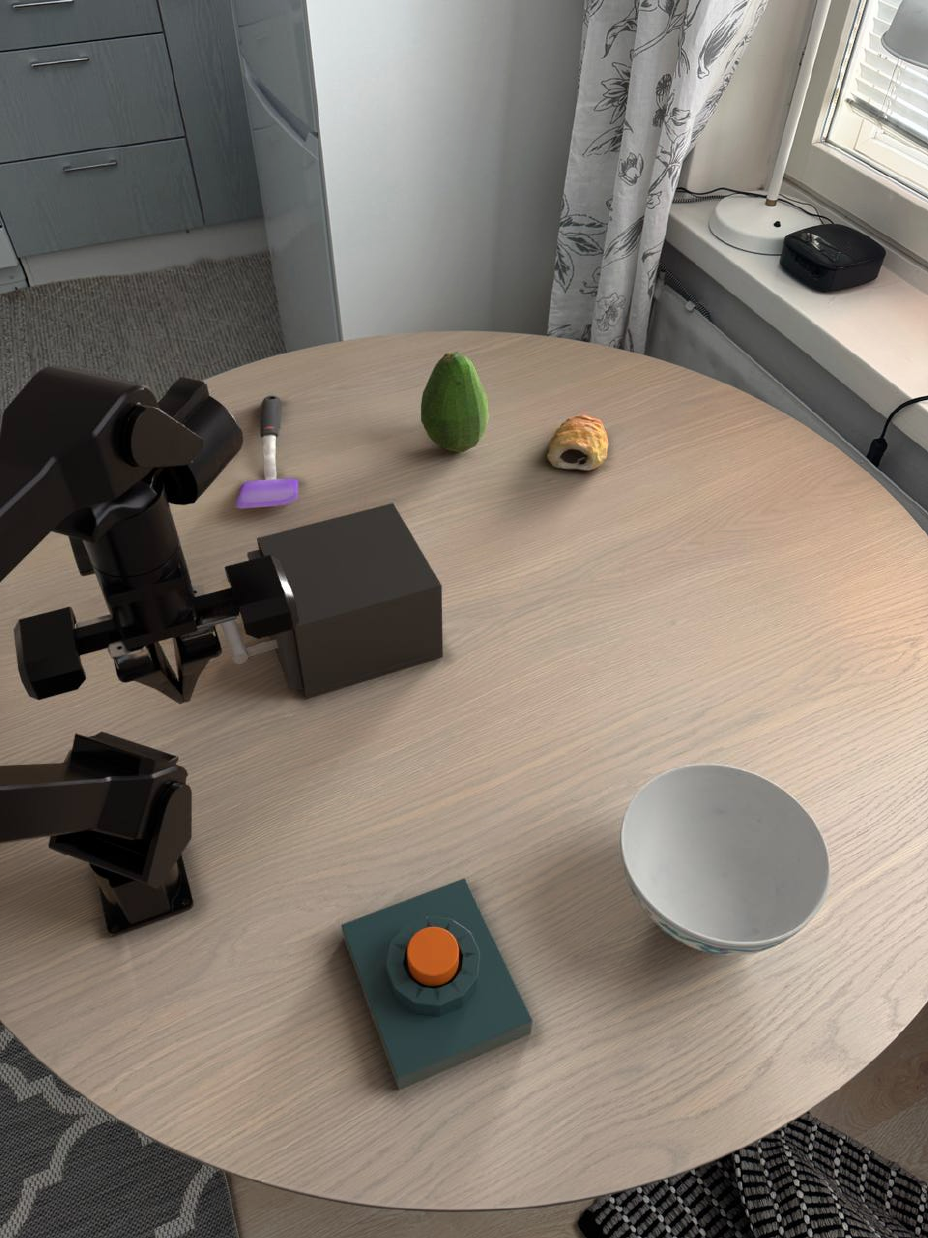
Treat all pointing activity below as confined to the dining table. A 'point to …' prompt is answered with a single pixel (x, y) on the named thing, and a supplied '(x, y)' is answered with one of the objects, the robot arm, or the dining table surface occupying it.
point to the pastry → (579, 444)
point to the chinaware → (723, 858)
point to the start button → (433, 956)
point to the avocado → (454, 404)
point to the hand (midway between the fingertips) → (183, 698)
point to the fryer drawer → (266, 647)
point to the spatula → (268, 465)
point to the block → (435, 1015)
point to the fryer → (358, 598)
